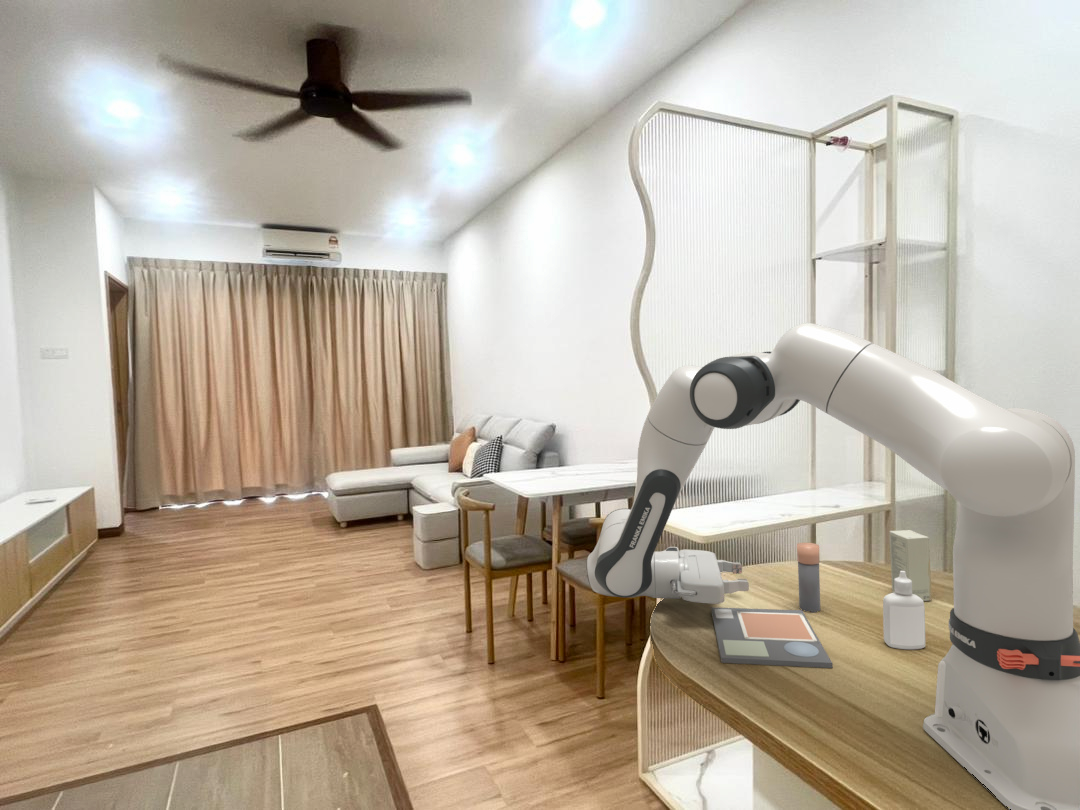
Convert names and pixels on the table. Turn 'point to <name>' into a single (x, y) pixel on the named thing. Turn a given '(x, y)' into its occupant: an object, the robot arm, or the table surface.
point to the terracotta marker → (808, 576)
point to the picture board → (767, 638)
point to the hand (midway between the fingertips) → (744, 576)
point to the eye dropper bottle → (903, 616)
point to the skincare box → (911, 560)
